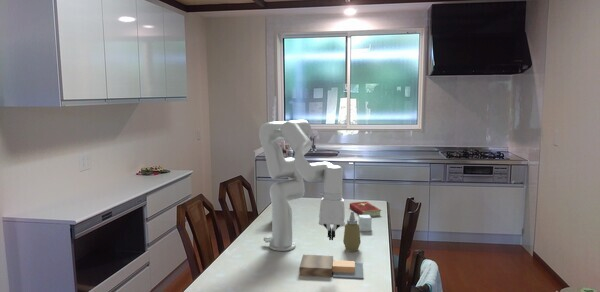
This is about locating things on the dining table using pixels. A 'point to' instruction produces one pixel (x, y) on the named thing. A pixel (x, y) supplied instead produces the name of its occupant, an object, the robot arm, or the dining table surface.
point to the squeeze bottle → (352, 234)
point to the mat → (356, 275)
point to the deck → (316, 265)
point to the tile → (343, 266)
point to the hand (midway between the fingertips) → (331, 238)
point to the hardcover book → (365, 208)
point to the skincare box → (365, 222)
